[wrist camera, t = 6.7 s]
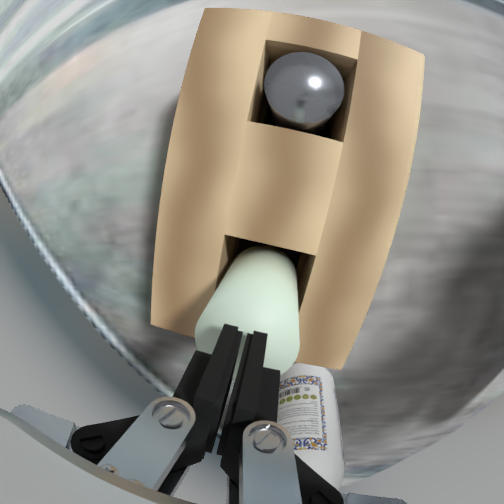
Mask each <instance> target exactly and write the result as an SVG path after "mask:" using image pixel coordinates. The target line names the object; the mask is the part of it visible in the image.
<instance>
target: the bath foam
mask: <svg viewBox="0 0 504 504" xmlns="http://www.w3.org/2000/svg"><path fill="white" fill-rule="evenodd" d="M277 423H278V424H280V425H282V426H283V427H284V428H286V429H287V431H288V432H289V433H290V435H291V438H292V442H293V448H294V453H295V454H296V455H297V456H298V457H299V458H300V459H301V460H303V461H304V462H305V463H306V464H307V465H308V466H309V467H311V468H312V469H313V470H314V471H315V472H316V473H318V474H319V475H320V476H321V477H322V478H324V479H325V480H326V481H327V482H328V483H330V484H331V485H332V486H333V487H335V488H336V489H337V490H339V488H340V486H341V483H342V480H343V476H344V465H345V463H344V453H343V444H342V435H341V427H340V420H339V412H338V405H337V398H336V392H335V386H334V380H333V377H332V375H331V373H330V372H329V371H328V370H327V369H326V368H324V367H320V366H314V365H308V364H303V363H294V364H293V365H292V366H291V367H290V368H289V369H288V370H287V371H286V372H285V373H283V374H282V375H280V387H279V401H278V414H277Z"/></svg>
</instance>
